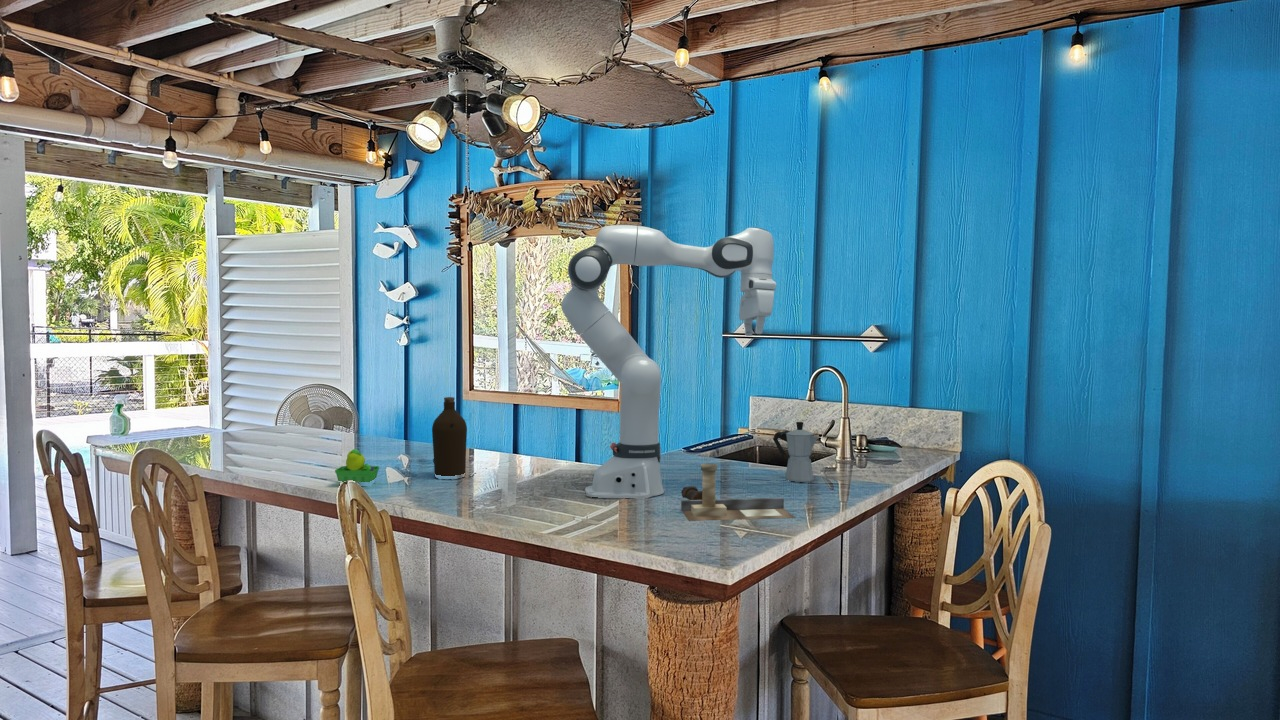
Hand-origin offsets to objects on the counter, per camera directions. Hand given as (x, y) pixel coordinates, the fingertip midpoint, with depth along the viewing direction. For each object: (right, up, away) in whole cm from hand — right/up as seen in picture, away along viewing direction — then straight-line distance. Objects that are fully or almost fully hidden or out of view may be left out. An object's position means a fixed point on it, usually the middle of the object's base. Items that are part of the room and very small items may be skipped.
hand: (753, 334), depth 234 cm
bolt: (-17, -46, -13) cm, 51 cm away
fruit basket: (-116, -45, +13) cm, 125 cm away
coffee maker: (+16, -44, +21) cm, 52 cm away
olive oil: (-91, -44, +26) cm, 105 cm away
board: (-8, -46, -30) cm, 56 cm away
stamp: (-15, -45, -31) cm, 56 cm away
